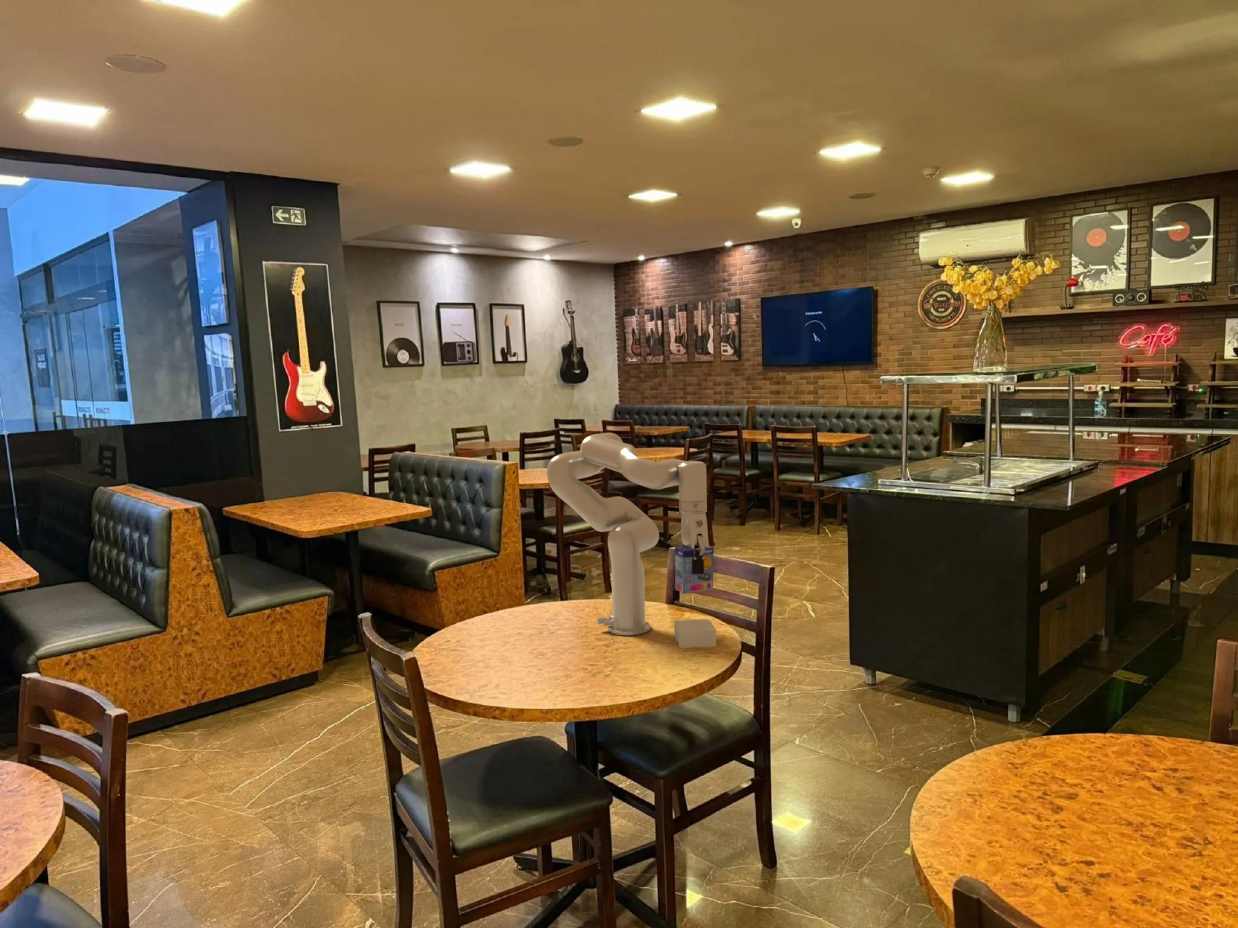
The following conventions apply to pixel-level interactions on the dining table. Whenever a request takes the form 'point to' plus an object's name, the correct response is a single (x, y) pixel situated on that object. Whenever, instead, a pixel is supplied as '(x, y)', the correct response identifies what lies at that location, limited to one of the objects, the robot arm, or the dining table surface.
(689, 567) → the ink cartridge box
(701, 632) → the base block
